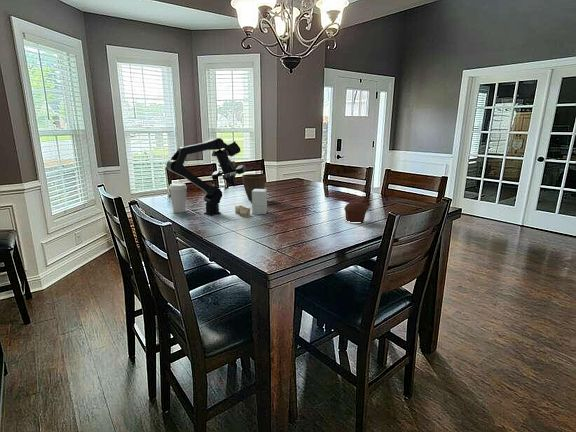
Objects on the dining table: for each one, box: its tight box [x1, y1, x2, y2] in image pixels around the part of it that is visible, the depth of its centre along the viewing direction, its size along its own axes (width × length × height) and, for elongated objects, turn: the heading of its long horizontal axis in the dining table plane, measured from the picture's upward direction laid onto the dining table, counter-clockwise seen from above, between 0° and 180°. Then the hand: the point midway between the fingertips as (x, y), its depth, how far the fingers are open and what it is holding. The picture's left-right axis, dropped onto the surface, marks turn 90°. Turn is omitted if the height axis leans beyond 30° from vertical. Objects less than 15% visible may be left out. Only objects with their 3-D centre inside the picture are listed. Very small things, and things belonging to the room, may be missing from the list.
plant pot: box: [241, 173, 267, 202], centre depth 215 cm, size 15×15×16 cm
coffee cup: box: [168, 182, 188, 214], centre depth 185 cm, size 10×10×15 cm
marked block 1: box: [234, 205, 246, 216], centre depth 184 cm, size 4×4×4 cm
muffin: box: [344, 201, 369, 223], centre depth 171 cm, size 12×11×10 cm
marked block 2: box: [239, 207, 251, 218], centre depth 179 cm, size 4×4×4 cm
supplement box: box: [251, 188, 268, 215], centre depth 185 cm, size 7×7×13 cm
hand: (234, 186), depth 188 cm, fingers closed
